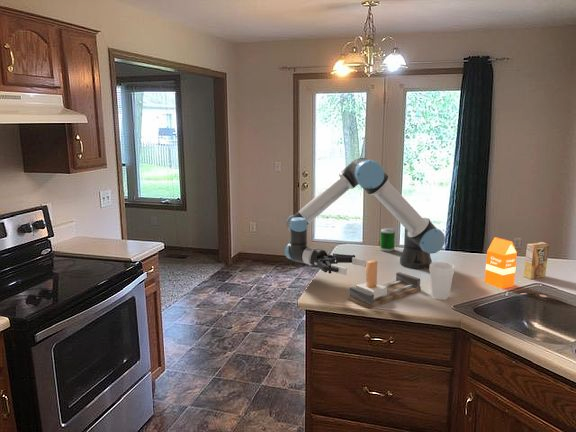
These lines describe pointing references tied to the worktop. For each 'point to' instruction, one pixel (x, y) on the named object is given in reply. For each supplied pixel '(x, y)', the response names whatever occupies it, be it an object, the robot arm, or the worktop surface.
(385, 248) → the soda can
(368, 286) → the carriage
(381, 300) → the rail
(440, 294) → the foam cup
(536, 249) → the candy box
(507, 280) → the orange juice
